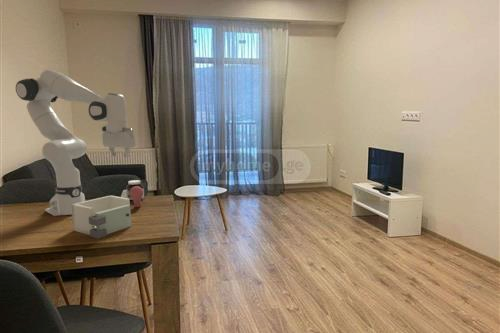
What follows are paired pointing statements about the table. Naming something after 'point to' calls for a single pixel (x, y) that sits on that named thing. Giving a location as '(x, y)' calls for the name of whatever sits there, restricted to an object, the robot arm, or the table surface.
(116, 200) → the cabinet
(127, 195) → the spread jar
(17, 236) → the table surface
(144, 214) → the table surface
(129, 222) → the door
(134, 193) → the light bulb
